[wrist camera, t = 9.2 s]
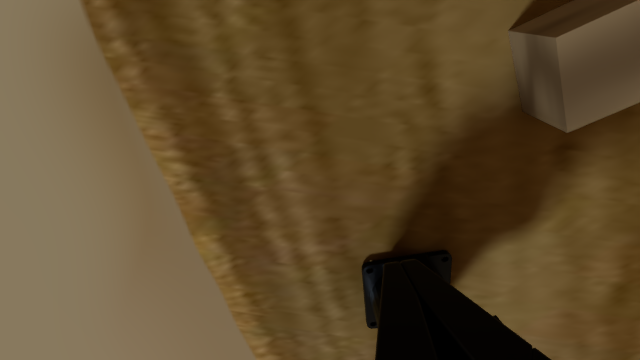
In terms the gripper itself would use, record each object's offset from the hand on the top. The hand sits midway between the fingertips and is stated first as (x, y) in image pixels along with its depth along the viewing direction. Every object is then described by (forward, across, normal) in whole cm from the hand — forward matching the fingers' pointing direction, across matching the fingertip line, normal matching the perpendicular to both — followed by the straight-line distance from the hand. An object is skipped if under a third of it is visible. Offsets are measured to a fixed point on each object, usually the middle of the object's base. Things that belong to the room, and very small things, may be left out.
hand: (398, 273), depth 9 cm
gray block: (+13, -13, -2) cm, 19 cm away
